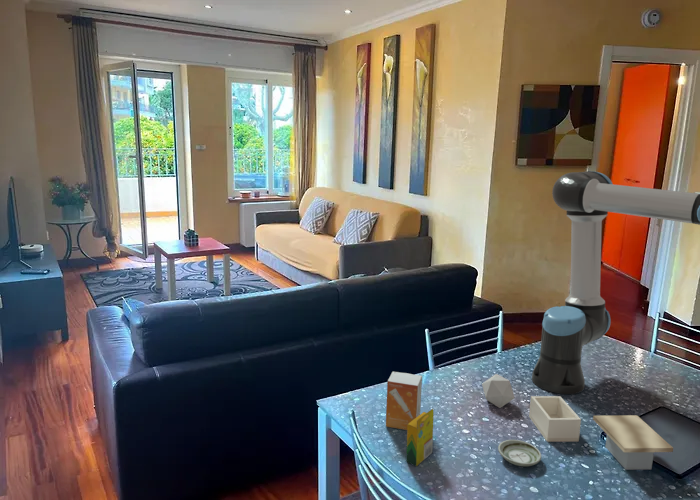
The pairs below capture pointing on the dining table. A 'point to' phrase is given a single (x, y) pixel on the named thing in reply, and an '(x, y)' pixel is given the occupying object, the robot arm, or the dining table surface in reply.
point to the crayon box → (420, 438)
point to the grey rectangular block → (630, 457)
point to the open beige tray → (554, 419)
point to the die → (498, 390)
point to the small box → (403, 399)
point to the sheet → (632, 434)
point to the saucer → (519, 452)
